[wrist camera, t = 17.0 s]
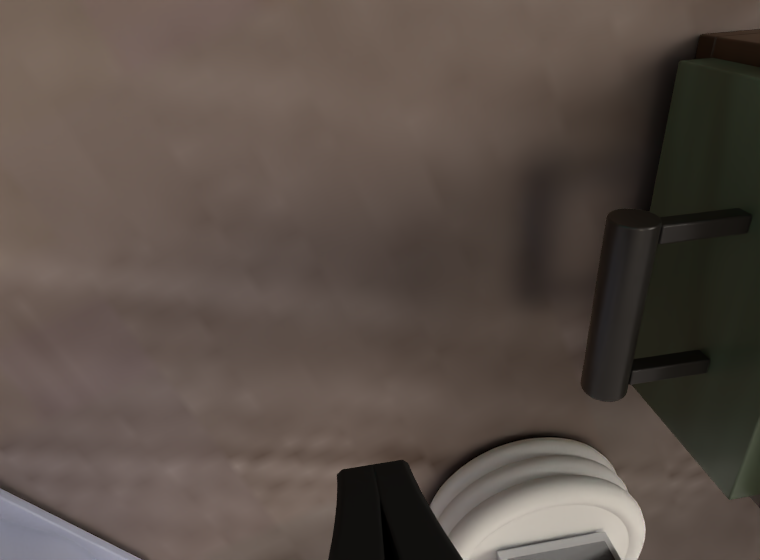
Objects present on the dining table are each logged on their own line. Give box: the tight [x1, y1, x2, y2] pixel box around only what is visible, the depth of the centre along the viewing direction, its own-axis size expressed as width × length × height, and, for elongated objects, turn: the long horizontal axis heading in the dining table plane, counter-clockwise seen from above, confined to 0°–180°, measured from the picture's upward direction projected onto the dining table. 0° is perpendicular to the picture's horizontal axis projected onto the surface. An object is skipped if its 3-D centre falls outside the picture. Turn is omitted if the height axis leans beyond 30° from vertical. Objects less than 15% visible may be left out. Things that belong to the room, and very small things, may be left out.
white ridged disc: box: [430, 437, 646, 560], centre depth 27 cm, size 10×10×4 cm
